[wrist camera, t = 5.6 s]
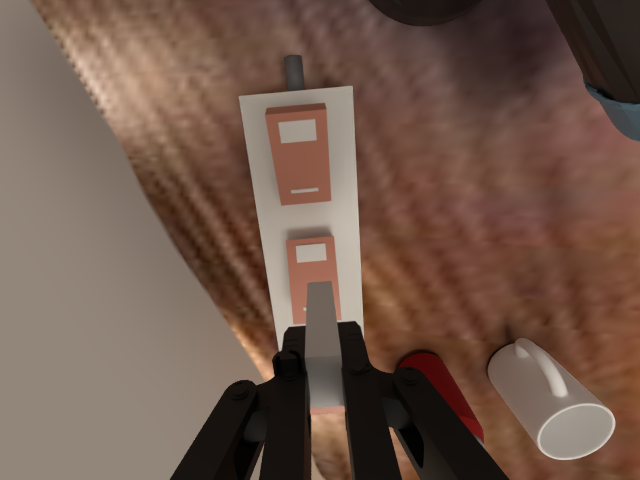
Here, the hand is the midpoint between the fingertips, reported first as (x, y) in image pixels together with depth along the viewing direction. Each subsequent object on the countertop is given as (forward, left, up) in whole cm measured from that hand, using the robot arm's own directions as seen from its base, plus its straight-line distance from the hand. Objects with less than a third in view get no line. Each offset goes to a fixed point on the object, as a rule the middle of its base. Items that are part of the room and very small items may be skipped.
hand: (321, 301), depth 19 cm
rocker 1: (-8, -1, -10) cm, 13 cm away
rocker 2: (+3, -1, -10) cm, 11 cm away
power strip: (+2, -1, -17) cm, 17 cm away
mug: (+21, +25, -17) cm, 37 cm away
